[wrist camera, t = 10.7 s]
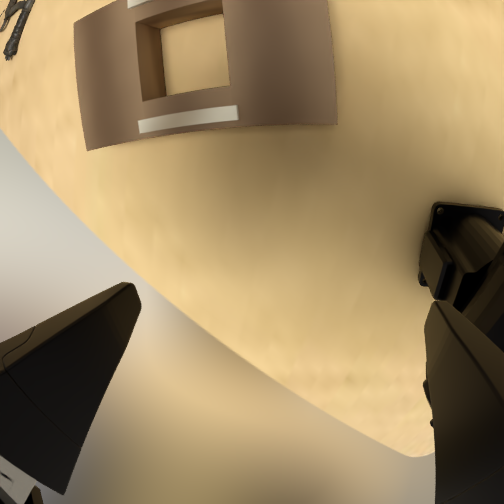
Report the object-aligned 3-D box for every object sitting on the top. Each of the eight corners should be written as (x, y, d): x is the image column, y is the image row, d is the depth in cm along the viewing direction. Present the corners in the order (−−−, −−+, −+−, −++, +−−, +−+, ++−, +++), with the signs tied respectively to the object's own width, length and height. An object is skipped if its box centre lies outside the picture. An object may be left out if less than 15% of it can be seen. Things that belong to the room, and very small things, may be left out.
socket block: (320, -25, 11) (318, -47, 8) (334, 120, 16) (337, 125, 13) (100, 26, 14) (70, 22, 12) (112, 142, 19) (84, 152, 17)
